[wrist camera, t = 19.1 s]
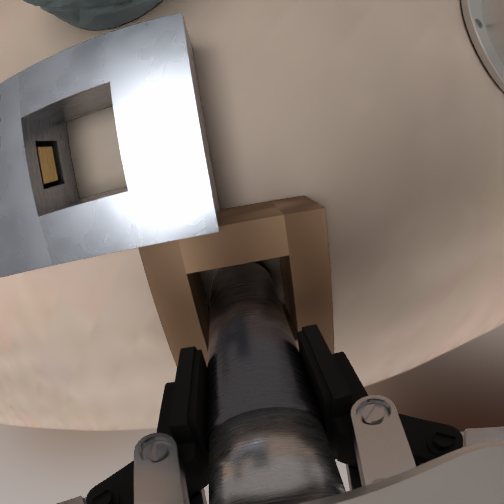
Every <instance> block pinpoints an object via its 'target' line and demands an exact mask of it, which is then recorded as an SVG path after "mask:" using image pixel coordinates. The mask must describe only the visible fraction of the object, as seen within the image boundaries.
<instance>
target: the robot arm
mask: <svg viewBox="0 0 504 504" xmlns="http://www.w3.org/2000/svg"><path fill="white" fill-rule="evenodd" d="M461 4H462V10H463V16H464V19H465V23H466V27H467V29H468V32H469V35H470V37H471V40H472V42H473V44H474V47H475V49H476V51H477V53H478V55H479V57H480V59H481V60H482V62H483V64H484V66H485V67H486V69H487V70H488V72H489V74H490V75H491V77H492V78H493V79H494V81H495V82H496V83H497V84H498V86H499V87H500V88H501V89H502V90H503V91H504V0H462V1H461ZM297 337H298V346H299V353H300V356H301V359H302V361H303V364H304V367H305V369H306V372H307V375H308V377H309V380H310V383H311V386H312V388H313V391H314V394H315V396H316V399H317V402H318V404H319V407H320V410H321V413H322V415H323V418H324V421H325V434H326V437H327V439H328V442H329V445H330V448H331V451H332V453H333V456H334V459H337V460H338V461H340V462H342V463H345V464H346V469H347V475H348V481H349V488H350V491H347V492H344V493H340V494H337V495H333V496H329V497H325V498H321V499H317V500H313V501H309V502H304V503H299V504H504V427H492V428H475V429H466V430H465V432H460V431H459V430H458V429H456V428H455V427H453V426H450V425H446V424H441V423H436V422H431V421H427V420H423V419H418V418H414V417H410V416H406V415H402V414H398V413H397V410H396V407H395V405H394V404H393V402H392V401H391V400H389V399H388V398H386V397H383V396H378V395H371V396H368V394H367V392H366V391H365V389H364V387H363V385H362V383H361V382H360V380H359V378H358V376H357V374H356V373H355V371H354V369H353V367H352V366H351V364H350V362H349V360H348V358H347V357H346V355H345V354H344V352H339V353H335V354H332V353H331V351H330V349H329V347H328V345H327V344H326V342H325V340H324V338H323V336H322V334H321V332H320V330H319V328H318V326H317V325H316V324H314V325H309V326H304V327H302V331H299V332H297ZM206 393H207V365H206V362H205V359H204V356H203V352H202V350H201V349H199V350H197V349H196V347H195V346H193V347H186V348H181V349H180V354H179V360H178V366H177V372H176V378H175V382H171V383H166V385H165V389H164V394H163V399H162V405H161V410H160V416H159V422H158V427H157V433H153V434H149V435H147V436H145V437H143V438H142V439H141V440H140V441H139V442H138V443H137V445H136V446H135V451H134V461H132V462H131V463H130V464H128V465H127V466H125V467H124V468H122V469H121V470H119V471H118V472H116V473H115V474H113V475H112V476H110V477H109V478H107V479H106V480H104V481H103V482H101V483H99V484H98V485H96V486H95V487H94V488H92V489H91V490H90V492H89V493H88V495H87V497H85V498H83V497H82V496H79V497H76V498H73V499H70V500H67V501H64V502H61V503H57V504H207V501H206V496H205V491H204V487H205V486H207V485H208V484H209V450H208V448H207V446H206V444H205V431H206Z"/></svg>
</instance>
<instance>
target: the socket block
mask: <svg viewBox="0 0 504 504" xmlns="http://www.w3.org/2000/svg"><path fill="white" fill-rule="evenodd" d="M111 106H113V110H114V117H115V123H116V129H117V135H118V141H119V147H120V153H121V158H122V163H123V168H124V173H125V178H126V183H127V187H123V188H119V189H115V190H111V191H107V192H104V193H100V194H96V195H93V196H89V197H86V198H82V199H79V194H78V190H77V185H76V181H75V176H74V171H73V166H72V160H71V155H70V149H69V143H68V136H67V129H66V122H68V121H71V120H73V119H76V118H79V117H82V116H84V115H87V114H90V113H93V112H96V111H99V110H102V109H105V108H108V107H111ZM50 146H52V149H53V155H54V161H55V166H56V172H57V177H58V180H57V181H54V182H51V183H48V184H46V185H43V183H42V178H41V173H40V168H39V162H38V156H37V150H36V148H37V147H50ZM219 223H220V206H219V201H218V196H217V190H216V185H215V179H214V174H213V168H212V163H211V157H210V151H209V146H208V140H207V134H206V128H205V123H204V117H203V111H202V105H201V99H200V93H199V87H198V80H197V74H196V68H195V62H194V55H193V49H192V44H191V41H190V38H189V34H188V31H187V28H186V24H185V21H184V18H183V14H182V13H178V14H173V15H169V16H165V17H161V18H157V19H153V20H149V21H145V22H142V23H138V24H135V25H131V26H128V27H125V28H122V29H118V30H115V31H112V32H109V33H107V34H104V35H101V36H98V37H96V38H93V39H90V40H88V41H85V42H83V43H80V44H78V45H75V46H73V47H71V48H68V49H66V50H64V51H61V52H59V53H57V54H55V55H53V56H51V57H48V58H46V59H44V60H42V61H40V62H38V63H36V64H34V65H32V66H31V67H29V68H27V69H25V70H23V71H21V72H19V73H18V74H16V75H14V76H12V77H11V78H9V79H7V80H6V81H4V82H2V83H1V84H0V277H5V276H9V275H13V274H17V273H22V272H26V271H30V270H35V269H39V268H44V267H48V266H52V265H57V264H62V263H66V262H71V261H75V260H80V259H85V258H89V257H94V256H99V255H103V254H108V253H113V252H118V251H123V250H128V249H133V248H137V247H142V246H147V245H152V244H157V243H163V242H168V241H173V240H178V239H183V238H188V237H194V236H199V235H204V234H210V233H215V232H219Z"/></svg>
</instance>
